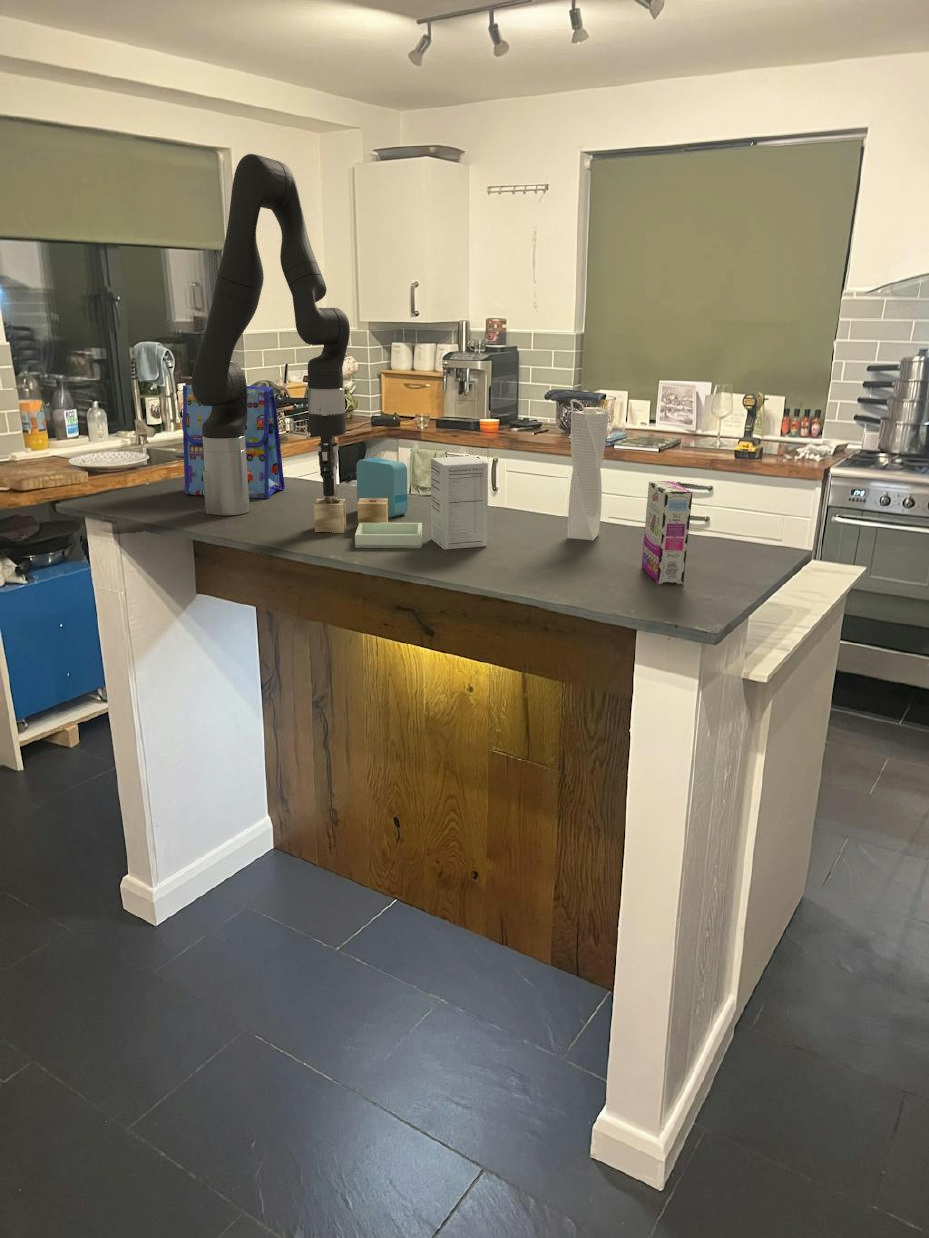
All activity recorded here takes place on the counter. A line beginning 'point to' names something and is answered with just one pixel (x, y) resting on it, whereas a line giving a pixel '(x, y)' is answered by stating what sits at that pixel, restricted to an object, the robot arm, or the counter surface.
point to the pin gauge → (334, 498)
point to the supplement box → (459, 502)
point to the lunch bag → (258, 441)
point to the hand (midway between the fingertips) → (329, 494)
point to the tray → (388, 535)
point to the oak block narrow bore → (373, 510)
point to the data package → (383, 483)
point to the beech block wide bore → (330, 516)
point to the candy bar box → (666, 532)
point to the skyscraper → (586, 471)
